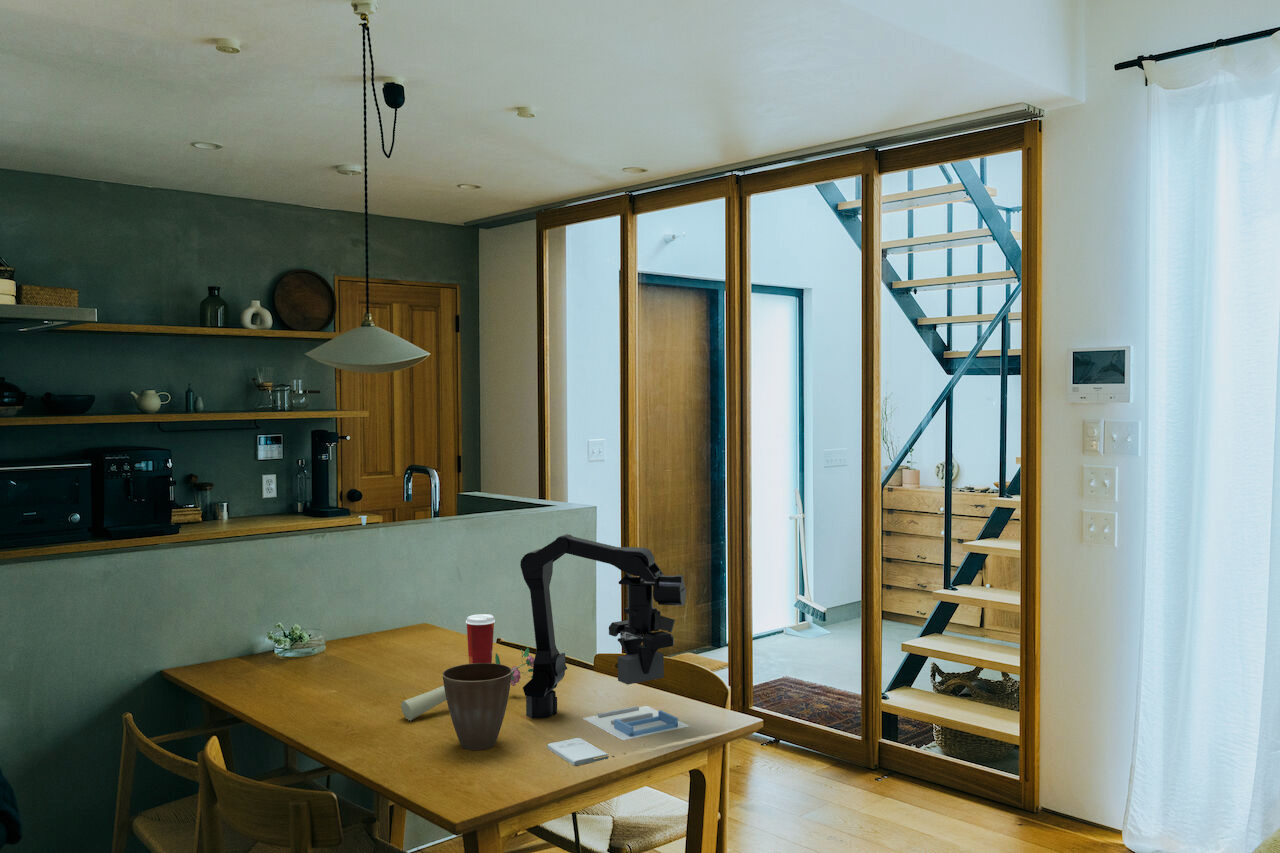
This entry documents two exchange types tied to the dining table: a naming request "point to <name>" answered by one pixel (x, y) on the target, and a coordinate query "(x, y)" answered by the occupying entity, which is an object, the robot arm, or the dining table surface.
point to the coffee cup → (480, 638)
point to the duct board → (635, 722)
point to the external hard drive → (577, 751)
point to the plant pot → (477, 702)
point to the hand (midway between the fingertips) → (640, 671)
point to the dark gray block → (639, 668)
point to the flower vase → (437, 696)
